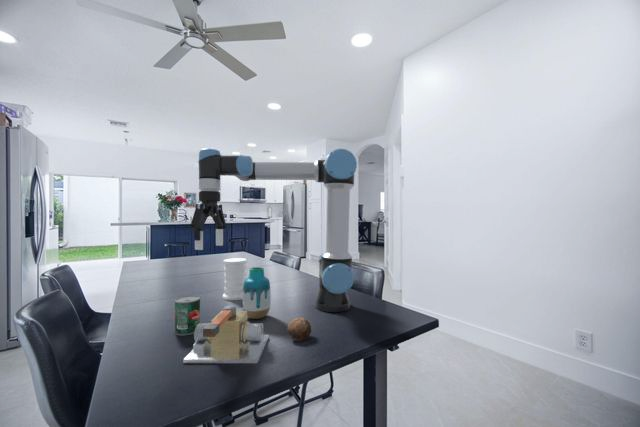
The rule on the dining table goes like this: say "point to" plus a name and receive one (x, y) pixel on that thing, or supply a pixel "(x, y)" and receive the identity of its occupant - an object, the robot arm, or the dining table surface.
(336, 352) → the dining table surface
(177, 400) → the dining table surface
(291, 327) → the brown round lump
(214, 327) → the lever
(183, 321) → the canned tomato
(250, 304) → the vase
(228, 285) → the decorative container
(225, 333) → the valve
